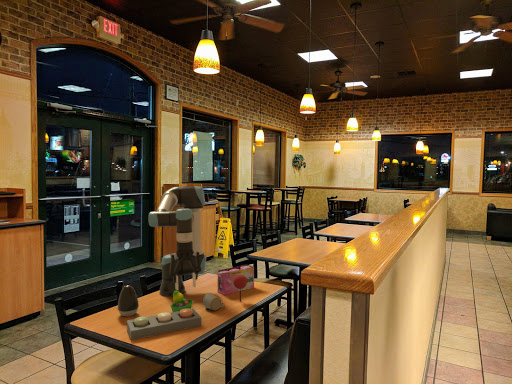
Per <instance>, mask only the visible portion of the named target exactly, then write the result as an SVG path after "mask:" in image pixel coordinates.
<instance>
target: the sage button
mask: <svg viewBox="0 0 512 384" xmlns="http://www.w3.org/2000/svg"><path fill="white" fill-rule="evenodd" d="M148 317H149V316H138V317H136V318H134V319H135V320H134V323H135V326H136V327H141V326H146V325H148Z"/></svg>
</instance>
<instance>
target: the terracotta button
mask: <svg viewBox="0 0 512 384" xmlns="http://www.w3.org/2000/svg"><path fill="white" fill-rule="evenodd" d="M192 309H193V308H191V309H182V310H180V317H181V318H188V317H192V316H193V311H192Z"/></svg>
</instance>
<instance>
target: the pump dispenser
mask: <svg viewBox="0 0 512 384" xmlns="http://www.w3.org/2000/svg"><path fill="white" fill-rule="evenodd" d="M138 299H139V298H138V295H137V293H136V290H135V289H134V287H133V286H132V285H125V284H124V285H122V289H121V291H120V294H119V298H118V302H117V311H118V312H119V314H120V315H121V316H122V317H131V316H134V315H135V314H136V313H137V312H138V309H139V300H138Z"/></svg>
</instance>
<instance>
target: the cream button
mask: <svg viewBox="0 0 512 384" xmlns="http://www.w3.org/2000/svg"><path fill="white" fill-rule="evenodd" d="M171 313H172V312H168V311H167V312H165V311H164V312H161V313H158V314H157V315H158V322H167V321H170V320H171Z"/></svg>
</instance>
